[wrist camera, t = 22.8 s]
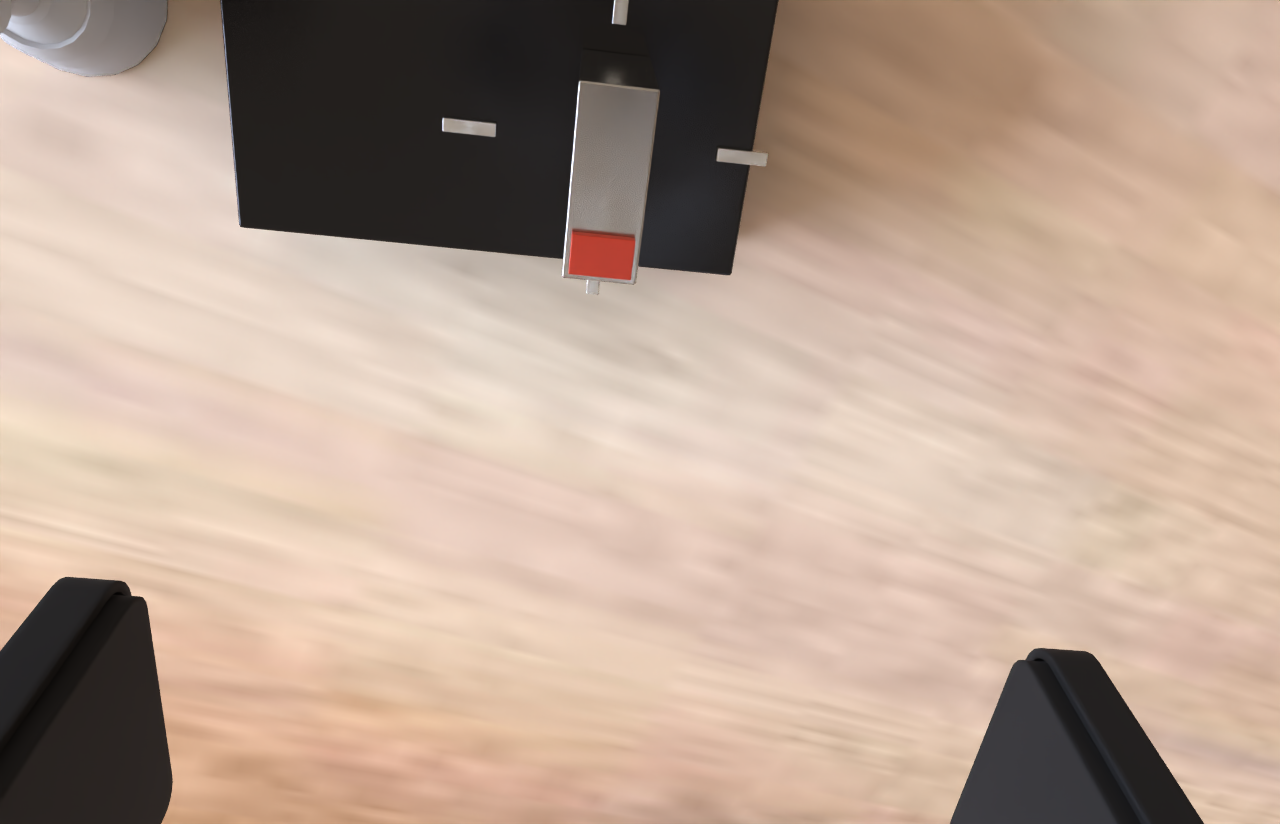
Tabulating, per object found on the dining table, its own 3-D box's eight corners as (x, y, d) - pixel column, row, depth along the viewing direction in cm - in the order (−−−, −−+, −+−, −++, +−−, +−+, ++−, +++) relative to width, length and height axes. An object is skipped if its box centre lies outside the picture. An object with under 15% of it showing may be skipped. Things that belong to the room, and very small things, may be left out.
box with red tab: (581, 48, 25) (578, 82, 21) (651, 57, 25) (661, 91, 21) (567, 220, 27) (561, 281, 23) (630, 227, 27) (636, 289, 23)
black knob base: (799, -152, 26) (824, -156, 23) (727, 270, 31) (740, 308, 28) (241, -230, 24) (195, -244, 22) (272, 225, 30) (239, 260, 27)
